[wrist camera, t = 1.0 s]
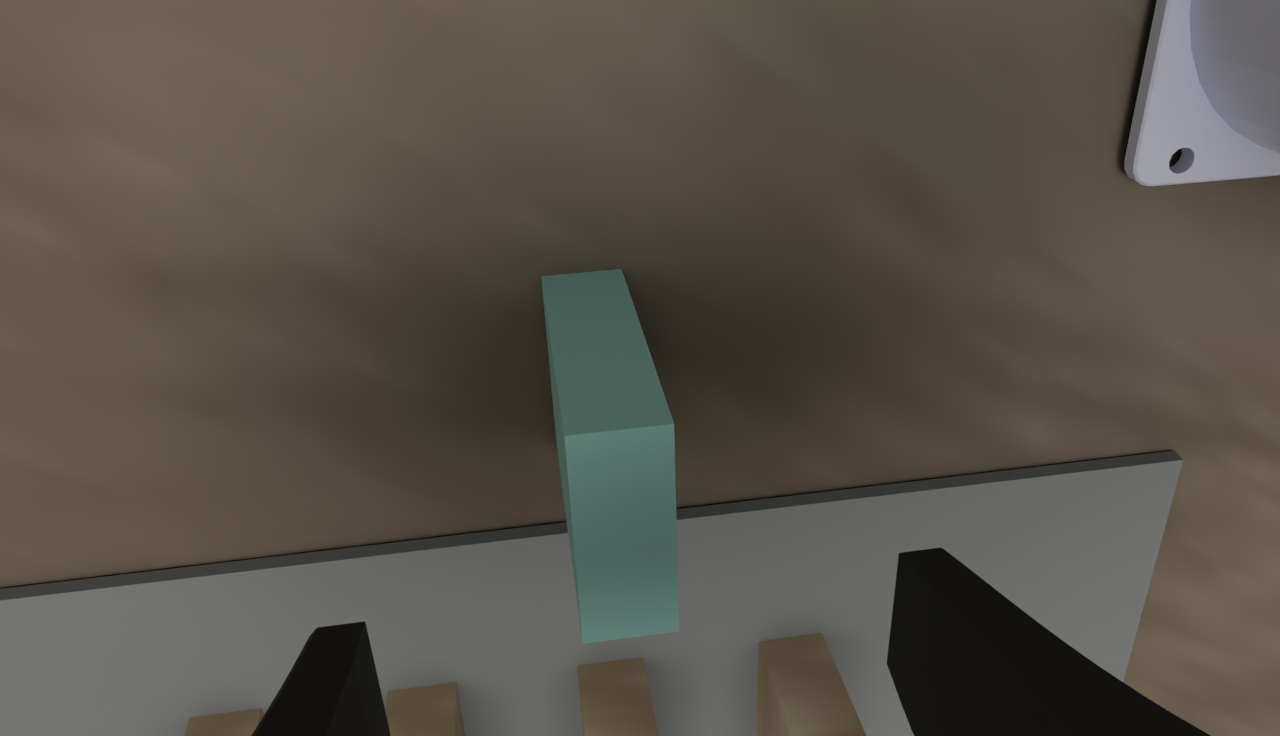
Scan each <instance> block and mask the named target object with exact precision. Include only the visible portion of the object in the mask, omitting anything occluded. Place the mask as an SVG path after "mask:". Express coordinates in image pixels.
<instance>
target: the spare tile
mask: <svg viewBox="0 0 1280 736" xmlns="http://www.w3.org/2000/svg"><path fill="white" fill-rule="evenodd" d="M541 281H542V291H543V302H544V313H545V324H546V335H547V346H548V357H549V368H550V379H551V390H552V400H553V411H554V422H555V433H556V444H557V453H558V460H559V468H560V476H561V483H562V491H563V499H564V506H565V514H566V522H567V529H568V537H569V544H570V552H571V560H572V567H573V575H574V583H575V590H576V598H577V606H578V613H579V621H580V629H581V636H582V644H586V643H593V642H601V641H609V640H616V639H624V638H631V637H639V636H646V635H654V634H662V633H669V632H677V631H679V603H678V561H677V519H676V478H675V436H674V422H673V419H672V416H671V413H670V410H669V407H668V404H667V401H666V398H665V395H664V392H663V390H662V387H661V384H660V381H659V378H658V375H657V372H656V369H655V366H654V363H653V360H652V357H651V354H650V351H649V348H648V345H647V342H646V339H645V337H644V334H643V331H642V328H641V325H640V322H639V319H638V316H637V313H636V310H635V307H634V304H633V301H632V298H631V295H630V292H629V289H628V286H627V284H626V281H625V278H624V275H623V272H622V269H615V270H604V271H593V272H582V273H571V274H560V275H549V276H541Z"/></svg>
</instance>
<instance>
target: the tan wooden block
mask: <svg viewBox="0 0 1280 736" xmlns="http://www.w3.org/2000/svg"><path fill="white" fill-rule="evenodd" d="M577 669H578V680H579V691H580V702H581V713H582V724H583V735H584V736H659V735H658V730H657V726H656V721H655V716H654V711H653V706H652V701H651V696H650V691H649V686H648V681H647V676H646V671H645V666H644V661H643V657H639V658H631V659H624V660H616V661H609V662H601V663H594V664H586V665H579V666H577Z"/></svg>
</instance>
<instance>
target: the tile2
mask: <svg viewBox="0 0 1280 736" xmlns="http://www.w3.org/2000/svg"><path fill="white" fill-rule="evenodd" d="M756 736H866V733H865V731H864V729H863V726H862V724H861V722H860V720H859V717H858V715H857V713H856V710H855V708H854V706H853V703H852V701H851V699H850V697H849V694H848V692H847V690H846V687H845V685H844V683H843V681H842V678H841V676H840V674H839V671H838V669H837V667H836V664H835V662H834V660H833V658H832V655H831V653H830V651H829V648H828V646H827V644H826V641H825V639H824V637H823V635H822V633H818V634H810V635H803V636H795V637H788V638H781V639H773V640H766V641H759V657H758V693H757V729H756Z"/></svg>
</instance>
